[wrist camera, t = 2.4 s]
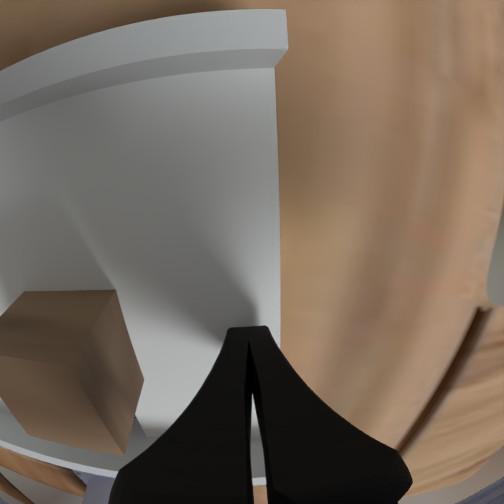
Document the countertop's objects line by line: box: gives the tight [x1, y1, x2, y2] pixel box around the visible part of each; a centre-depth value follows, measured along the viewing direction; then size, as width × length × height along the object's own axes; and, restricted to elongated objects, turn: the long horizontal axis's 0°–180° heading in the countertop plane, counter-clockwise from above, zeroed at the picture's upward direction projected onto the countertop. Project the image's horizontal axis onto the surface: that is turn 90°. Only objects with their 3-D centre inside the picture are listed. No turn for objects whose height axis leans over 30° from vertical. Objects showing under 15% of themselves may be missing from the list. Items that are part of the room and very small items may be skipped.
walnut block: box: [0, 289, 144, 456], centre depth 9 cm, size 4×4×4 cm
